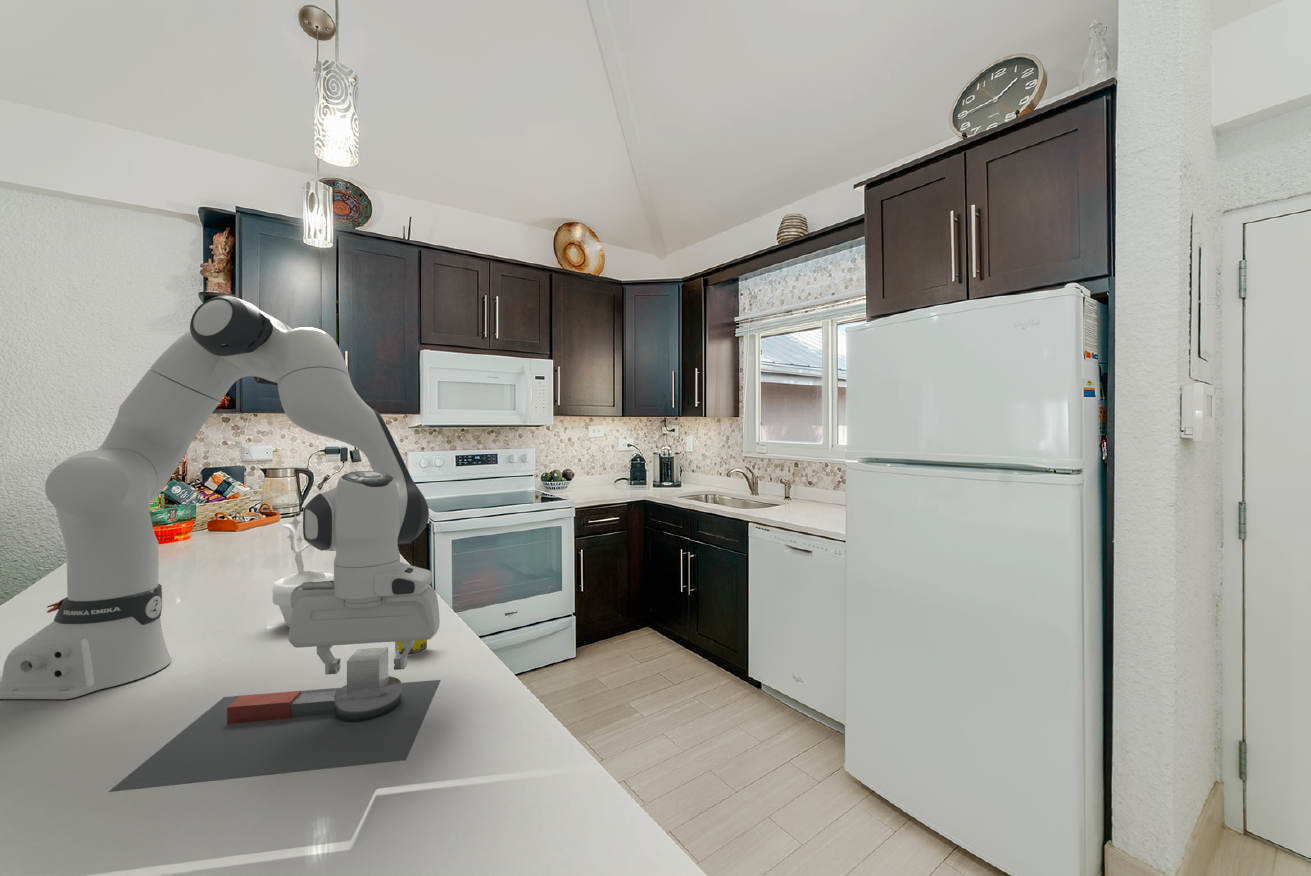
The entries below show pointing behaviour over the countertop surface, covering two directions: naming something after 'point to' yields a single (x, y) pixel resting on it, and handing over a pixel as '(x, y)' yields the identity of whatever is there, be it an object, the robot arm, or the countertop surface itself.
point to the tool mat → (282, 743)
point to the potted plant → (295, 577)
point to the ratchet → (315, 705)
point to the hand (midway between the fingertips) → (367, 670)
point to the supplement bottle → (416, 648)
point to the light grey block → (367, 672)
